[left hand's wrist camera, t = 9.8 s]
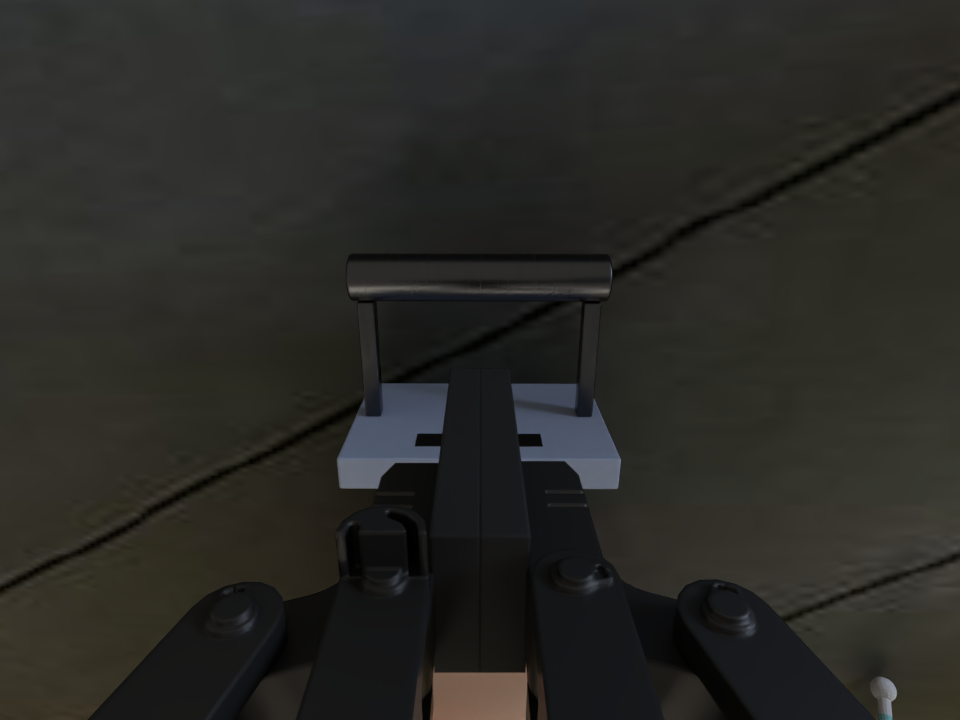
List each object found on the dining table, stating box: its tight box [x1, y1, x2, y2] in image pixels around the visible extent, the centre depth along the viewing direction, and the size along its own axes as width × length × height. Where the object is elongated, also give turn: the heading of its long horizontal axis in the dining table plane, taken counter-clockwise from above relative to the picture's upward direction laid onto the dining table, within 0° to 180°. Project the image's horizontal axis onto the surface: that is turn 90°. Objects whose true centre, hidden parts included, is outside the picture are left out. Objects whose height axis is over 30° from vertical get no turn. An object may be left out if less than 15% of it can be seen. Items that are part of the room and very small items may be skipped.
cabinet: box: [433, 669, 527, 720], centre depth 28 cm, size 16×11×8 cm, turn 0°
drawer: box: [337, 254, 621, 507], centre depth 23 cm, size 21×9×6 cm, turn 0°
